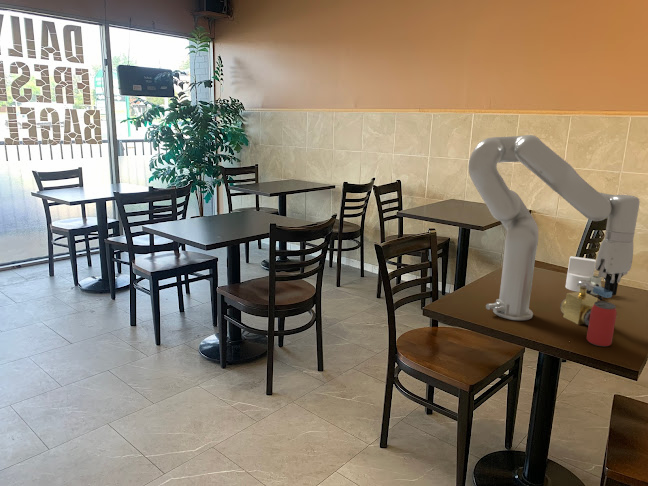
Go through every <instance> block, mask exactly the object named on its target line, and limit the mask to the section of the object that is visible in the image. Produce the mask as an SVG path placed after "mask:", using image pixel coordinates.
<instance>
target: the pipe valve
mask: <svg viewBox="0 0 648 486" xmlns="http://www.w3.org/2000/svg"><path fill="white" fill-rule="evenodd" d="M586 291H587V289H586V288H581V287H580V290H579V292H576V291H572V292H567V293H566V296H565V298H564V299H563V300H562V301H561V302H560V311H561V313H562V314H563V318H564V319H566V320H568V321H570V322H572V323H574V324H576V325H586V326H589V320H590V314H591V309H592V307H593V305H594V303H595V302H597V301H599V299H598V298H596V297H597V296H596V297H594V295H593V294H591V295H589V293H586Z"/></svg>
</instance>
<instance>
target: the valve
mask: <svg viewBox="0 0 648 486" xmlns="http://www.w3.org/2000/svg"><path fill="white" fill-rule="evenodd" d="M590 282H591V284H593V285H595V286H600V287H602V288H604V286H602V277H600V276H598V275H594V276H591V281H590ZM586 293H587V294H589V295H592V296H594V297H596V298H598V301H603V299H604V297H602V296H600V295H598V294H596V293H593V291H591V290H587V291H586Z"/></svg>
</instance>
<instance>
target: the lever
mask: <svg viewBox="0 0 648 486" xmlns="http://www.w3.org/2000/svg"><path fill="white" fill-rule="evenodd" d="M577 286H578V287H581V288H586V289H588V290H591V291H593V293H596V294H598V295H597V296H602V298H607V299H608V298H610V299H611V298H612V296H613V295H612V291H609V290H607V289H605V288H602V287H603V286H601V287H600V286H595V285H593V284H591V282H589V281H586V280H579V281H578V285H577Z"/></svg>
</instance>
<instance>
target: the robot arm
mask: <svg viewBox="0 0 648 486" xmlns="http://www.w3.org/2000/svg"><path fill="white" fill-rule="evenodd" d="M499 163H521V164H522V165H523V166H524V167H526V168H527V169H528V170H530V171H531V172H532V173H533V174H534V175H535V176H536V177H538V178H539V179H540V180H541V181H542V182H544V183H545V184H546V185H547V186H548V187H549V188H550V190H551V189H552V191H554V193H557V194H558V195H559V196H560V197H562V199H564V200H565V201H566V202H567V203H568V204H570V206H572V207H573V208H574V209H576V211H578V212H579V213H580V214H581V215H582V216H584V217H585V218H586V219H588V220H590V221H592V222H601V221H604V220H605V219H607V220H606V227H605V235H604V238H603V239H602V242H601V244H600V246H599V250H598V254H597V256H596V259H595V260H596V264H595V270H596V271H598V275H597V276H599V277H601V278H603V281H604V286H603V287H604V288H605V289H607V290H609V291H612V296H616V295H617V292H618V286H619V283H620V282H621V278H622V277H624V276H626V275H627V274H628V272H630V270H631V269H632V264H633V258H634V239H635V238H634V237H635V231H636V227H637V221H638V215H639V210H640V203H641V202H640V198H638V196H634V195H629V194H611V193H604V192H599V191H598V190H597V189H595V188H594V187H593V186H591V184H589V182H587V181H586V180H585V179H584V178H583V177H582V176H581V175H580V174H578V172H577V171H576V170H575V168H574V167H573V166H572V165H571V164H570V163H569V162H567V161H566V160H565V159H563V158H562V157H561V156H560V155H558V154H557V153H556V152H555V151H554V150H552V149H551V148H550V147H549V146H547V144H545V143H544V142H543V141H542V140H541V138H539V137H537V136H536V135H532V134H527V135H516V136H514V135H513V136H498V137H497V136H492V137H487V138H484V139H483V140H481V141H480V142H479V143H477V145H476V146H475V148H474V149H473V151H472V152H471V154H470V157H469V160H468V173H469V176H470V180H471V182H472V183H473V186H474V187H475V189H476V190H477V192H478V193H479V195H480V197H481V198H482V201H483V202H484V204H485V205H486V207H487V208H488V210H489V213H490V215H491V216H492V217H493V218H494V219H495V220H496V221H499V222H501V225H502V226H503V227H504V229H505V230H506V234H505V241H504V253H503V260H502V261H503V262H502V269H501V270H502V272H501V281H500V287H499V298H497V299H496V300H495V302H493V303H486V305H485V309H487V310H492V312H493V313H494V314H495V315H496V316H497V317H500V318H502V319H507V320H511V321H528V320H530V319H532V318H533V316H534V312H533V311H532V310H531V309H530V308H529V307H530V302H531V301H530V300H531V294H532V288H533V287H532V286H533V277H534V271H535V270H534V268H535V262H536V255H537V249H538V243H539V227H538V224H537V222H536V220H535V219H534V217H533V215H532V214H531V212H530V211H529V209H528V208H527V206H526V205H525V202H524V201H523V200H522V198H521V196H519V194H518V193H517V192H515V191H514V190H512V189H510V188H509V186H508V185H507V184H506V182H505V180H504V178H503V177H502V175H501V174H500V172H499V170H498V168H497V165H498V164H499Z"/></svg>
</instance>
